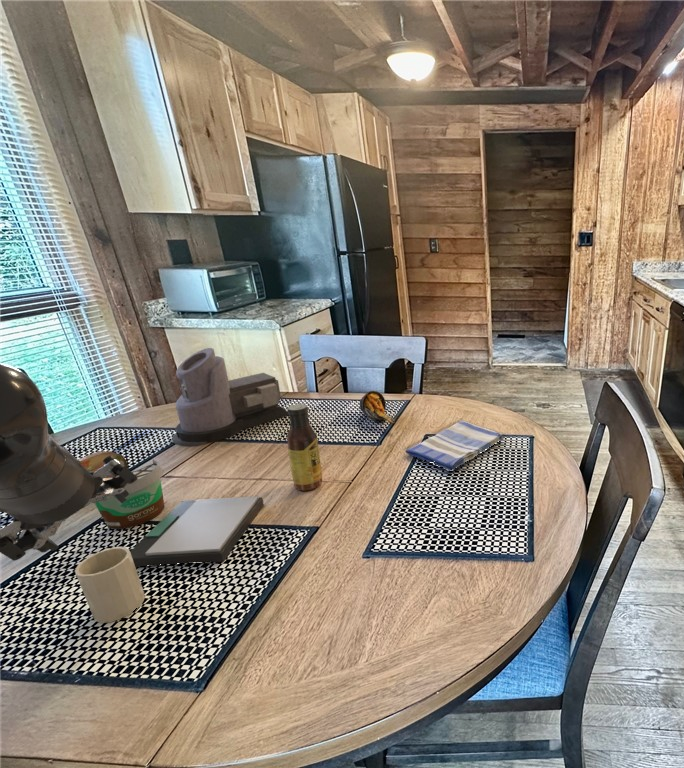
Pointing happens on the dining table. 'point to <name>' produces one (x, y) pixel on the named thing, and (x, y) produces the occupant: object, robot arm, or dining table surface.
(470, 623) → the dining table surface
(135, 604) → the cup
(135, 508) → the food container
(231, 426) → the juicer
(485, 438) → the dish towel
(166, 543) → the kitchen scale
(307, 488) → the sauce bottle
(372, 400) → the fried shrimp in bowl
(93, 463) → the tin
